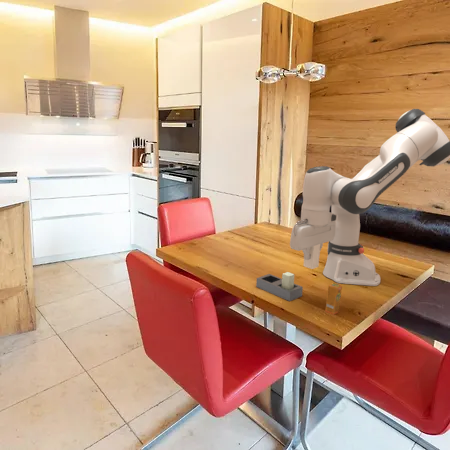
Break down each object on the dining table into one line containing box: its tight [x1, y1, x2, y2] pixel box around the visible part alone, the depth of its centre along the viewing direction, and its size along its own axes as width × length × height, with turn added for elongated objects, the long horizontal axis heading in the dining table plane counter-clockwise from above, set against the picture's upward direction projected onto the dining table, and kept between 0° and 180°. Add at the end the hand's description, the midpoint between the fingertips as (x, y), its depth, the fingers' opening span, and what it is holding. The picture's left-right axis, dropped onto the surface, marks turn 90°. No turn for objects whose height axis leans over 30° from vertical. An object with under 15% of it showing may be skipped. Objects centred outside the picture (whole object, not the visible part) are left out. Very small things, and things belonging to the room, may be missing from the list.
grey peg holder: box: [255, 273, 304, 302], centre depth 139 cm, size 16×7×4 cm, turn 41°
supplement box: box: [324, 282, 343, 316], centre depth 123 cm, size 3×3×10 cm
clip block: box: [303, 244, 321, 270], centre depth 126 cm, size 4×4×8 cm
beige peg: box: [281, 271, 295, 290], centre depth 135 cm, size 3×3×8 cm
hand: (311, 257), depth 126 cm, fingers closed on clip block, 3 cm apart
